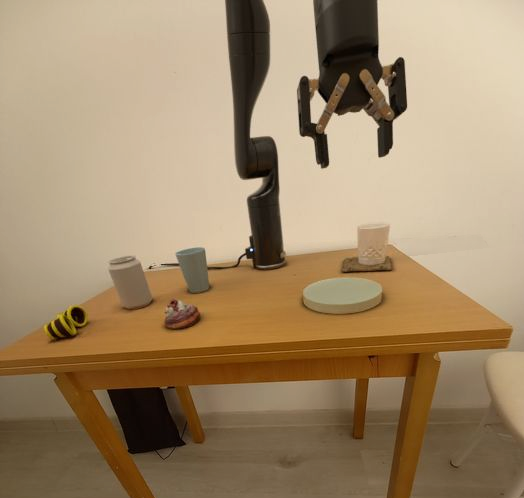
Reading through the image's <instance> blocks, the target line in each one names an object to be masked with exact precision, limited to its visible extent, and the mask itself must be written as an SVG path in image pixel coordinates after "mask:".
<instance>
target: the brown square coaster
mask: <svg viewBox="0 0 524 498" xmlns="http://www.w3.org/2000/svg"><path fill="white" fill-rule="evenodd" d="M391 263H392V262H391V260H390V257H389V255H385V261H384V262H383V263H380V264H373V265H364V264H360V263H359V262H358V256H352V257H346V258H344V261H343V266H342V273H347V272H372V271H392V270H393V269H392V264H391Z"/></svg>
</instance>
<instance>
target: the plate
mask: <svg viewBox="0 0 524 498" xmlns="http://www.w3.org/2000/svg"><path fill="white" fill-rule="evenodd" d="M382 299H383V287H382V285H381V284H380V283H379V282H377V281H375V280H372V279H369V278H362V277H352V276H351V277H350V276H344V277H343V276H341V277H332V278H326V279H322V280H318V281H315V282H312V283H310V284H308V285H307V286H306V287H305V288H303V290H302V301H303V303H304V306H305V307H306V308H308V309H310V310H312V311H315V312H318V313H323V314H332V315H343V314H344V315H347V314H355V313H360V312H364V311H368V310H370V309H373V308H374V307H377V306H378V305H379V304H380V303H381V302H382Z"/></svg>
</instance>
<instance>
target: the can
mask: <svg viewBox="0 0 524 498" xmlns="http://www.w3.org/2000/svg"><path fill="white" fill-rule="evenodd" d="M136 257H137V256H136V255H132V254H131V255H124V256H119V257H115V258H112V259H110V260H109V261H108V264H109V265H108V268H107V270H108V273H109V275H110V278H111V280H112V282H113V286H114V288H115V290H116V292H117V296H118V298H119V300H120V304H121V306H122V307H123V308H125V309H127V310H138V309H141V308H144V307H147V306H148V305H150V304H151V301H152V300H153V295H152V292H151V290H150V287H149V283H148V281H147V278H146V275H145V272H144V269H143V266H142V263H141V261H140V260H139V259H137V258H136Z"/></svg>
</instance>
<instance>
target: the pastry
mask: <svg viewBox="0 0 524 498" xmlns="http://www.w3.org/2000/svg"><path fill="white" fill-rule="evenodd" d="M164 314H165V318H164V325H165V327H166V328H168V329H171V330H173V329H174V330H175V329H177V330H178V329H184V328H188V327H191V326H192V325H194V324H195V323H197V321H198V320H199V319H200V317H201V313H200V311H199V309H198V307H197V306H195V305H194V304H185V302H184V301H182V300H177V299H176V298H171V299H170V301H169V302H168V304H167V306H166V308H165V312H164Z"/></svg>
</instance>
